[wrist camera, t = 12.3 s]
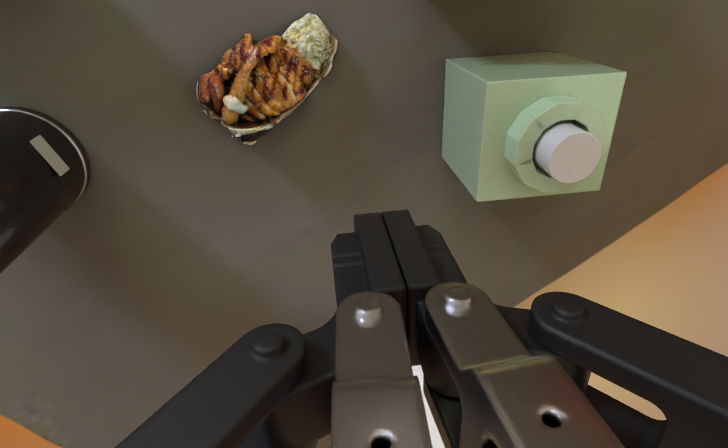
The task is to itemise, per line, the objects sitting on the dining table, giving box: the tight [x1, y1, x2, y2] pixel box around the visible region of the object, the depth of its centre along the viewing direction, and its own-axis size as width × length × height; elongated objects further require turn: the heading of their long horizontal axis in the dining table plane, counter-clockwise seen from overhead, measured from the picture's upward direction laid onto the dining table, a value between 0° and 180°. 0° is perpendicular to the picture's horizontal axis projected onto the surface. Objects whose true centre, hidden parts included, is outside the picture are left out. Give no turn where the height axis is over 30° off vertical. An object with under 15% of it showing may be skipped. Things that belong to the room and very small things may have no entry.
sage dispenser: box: [442, 52, 627, 202], centre depth 36 cm, size 10×9×12 cm
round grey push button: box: [535, 123, 601, 183], centre depth 30 cm, size 4×4×2 cm
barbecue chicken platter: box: [197, 13, 338, 145], centre depth 36 cm, size 7×12×4 cm, turn 130°
